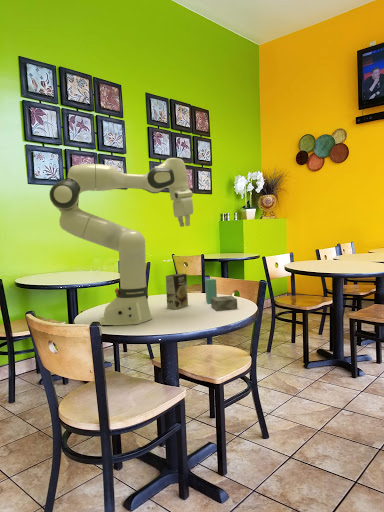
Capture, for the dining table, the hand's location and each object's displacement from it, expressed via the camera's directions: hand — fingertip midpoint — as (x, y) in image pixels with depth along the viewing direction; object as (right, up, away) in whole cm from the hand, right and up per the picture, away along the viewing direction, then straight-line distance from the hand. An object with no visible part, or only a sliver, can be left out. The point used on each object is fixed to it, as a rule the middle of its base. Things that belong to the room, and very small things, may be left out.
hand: (185, 226), depth 175 cm
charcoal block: (+18, -38, +12) cm, 44 cm away
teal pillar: (+13, -37, +26) cm, 47 cm away
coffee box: (-4, -39, +19) cm, 43 cm away
